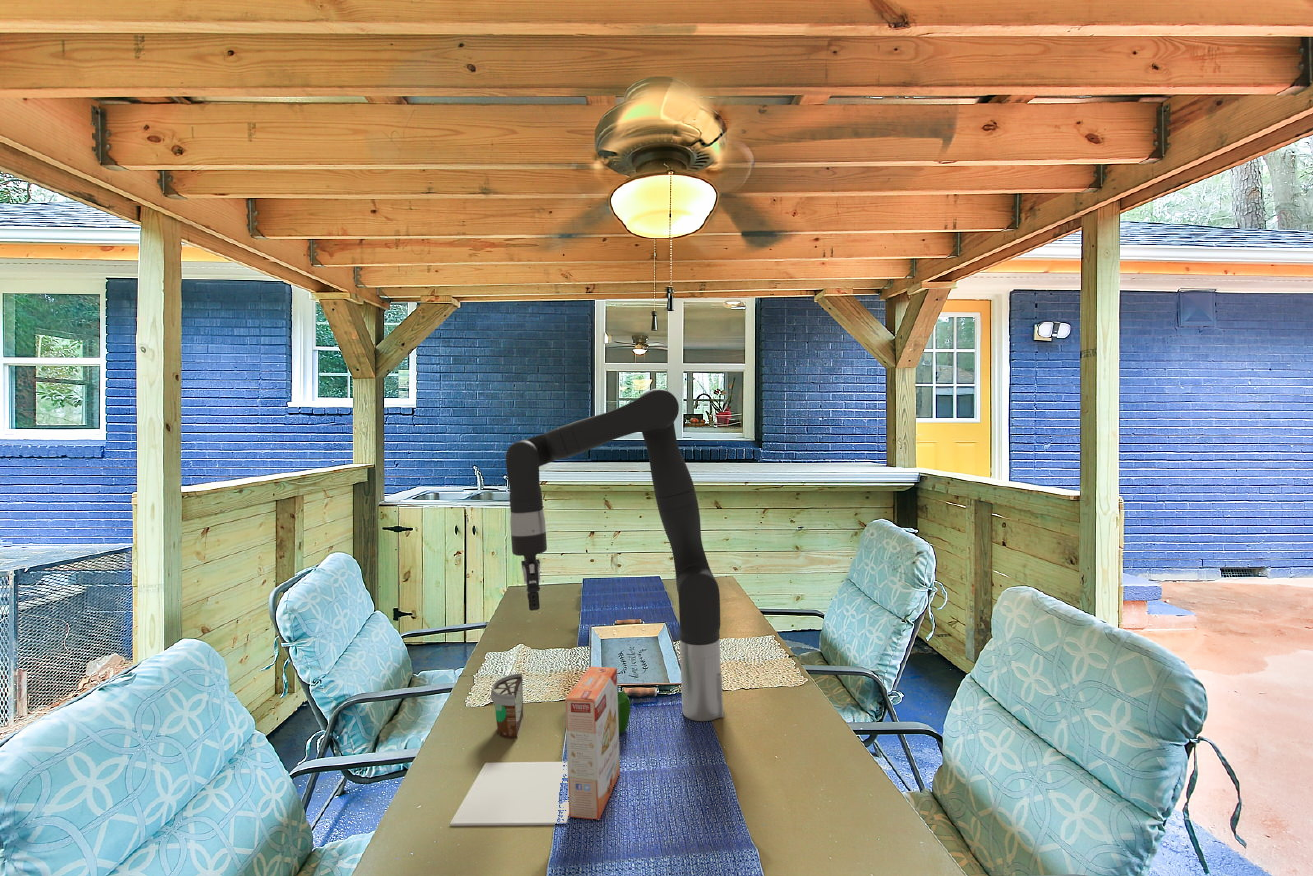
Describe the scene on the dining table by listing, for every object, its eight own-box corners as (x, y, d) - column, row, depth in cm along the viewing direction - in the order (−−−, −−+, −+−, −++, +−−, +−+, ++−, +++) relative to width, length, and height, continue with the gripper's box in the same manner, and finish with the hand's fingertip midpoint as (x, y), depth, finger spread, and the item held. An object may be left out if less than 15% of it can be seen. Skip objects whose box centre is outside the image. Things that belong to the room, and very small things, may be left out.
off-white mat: (584, 763, 118) (584, 761, 118) (566, 824, 100) (566, 822, 100) (485, 764, 119) (485, 762, 119) (450, 825, 101) (450, 823, 101)
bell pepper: (614, 718, 136) (612, 675, 135) (638, 730, 130) (636, 685, 130) (585, 733, 130) (583, 687, 130) (609, 746, 124) (607, 699, 124)
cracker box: (601, 822, 100) (596, 700, 100) (567, 819, 102) (562, 698, 101) (622, 773, 114) (618, 666, 114) (592, 771, 115) (588, 664, 115)
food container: (497, 716, 139) (495, 674, 139) (524, 714, 139) (522, 672, 139) (487, 744, 127) (484, 698, 126) (516, 742, 127) (514, 696, 127)
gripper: (547, 534, 125) (553, 611, 125) (543, 524, 138) (548, 593, 139) (511, 538, 123) (516, 616, 123) (510, 528, 136) (515, 597, 137)
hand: (533, 604), depth 131 cm, fingers open, 8 cm apart
